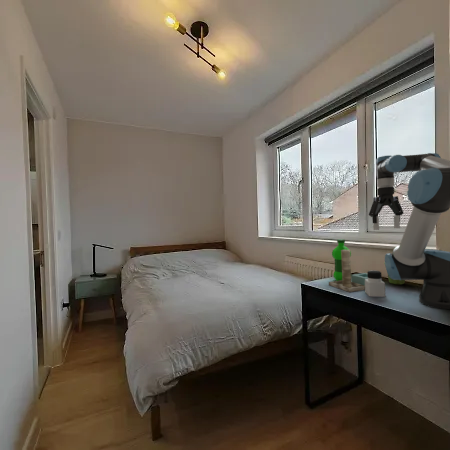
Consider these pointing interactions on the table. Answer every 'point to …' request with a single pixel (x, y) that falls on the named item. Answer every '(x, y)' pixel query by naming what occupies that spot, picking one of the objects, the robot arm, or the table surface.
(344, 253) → the dowel
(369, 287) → the medicine bottle
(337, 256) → the plastic bottle
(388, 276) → the plant pot
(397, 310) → the table surface
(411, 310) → the table surface
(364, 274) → the teal square bowl
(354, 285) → the tray
